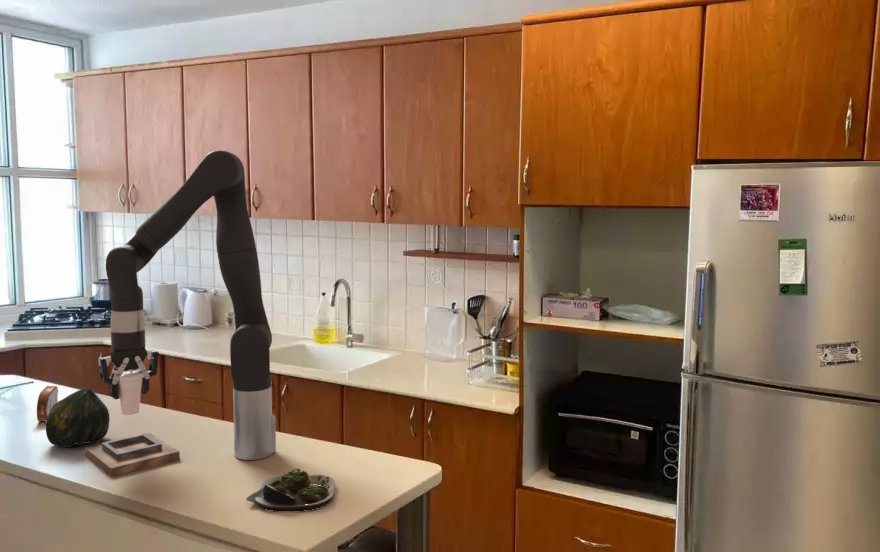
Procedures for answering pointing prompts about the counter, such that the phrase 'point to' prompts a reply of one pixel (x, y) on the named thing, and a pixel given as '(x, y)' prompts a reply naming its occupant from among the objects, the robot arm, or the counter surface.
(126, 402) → the smoothie
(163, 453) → the base board
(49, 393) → the tin
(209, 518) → the counter surface
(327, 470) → the counter surface
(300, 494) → the salad plate
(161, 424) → the counter surface
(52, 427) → the squash
